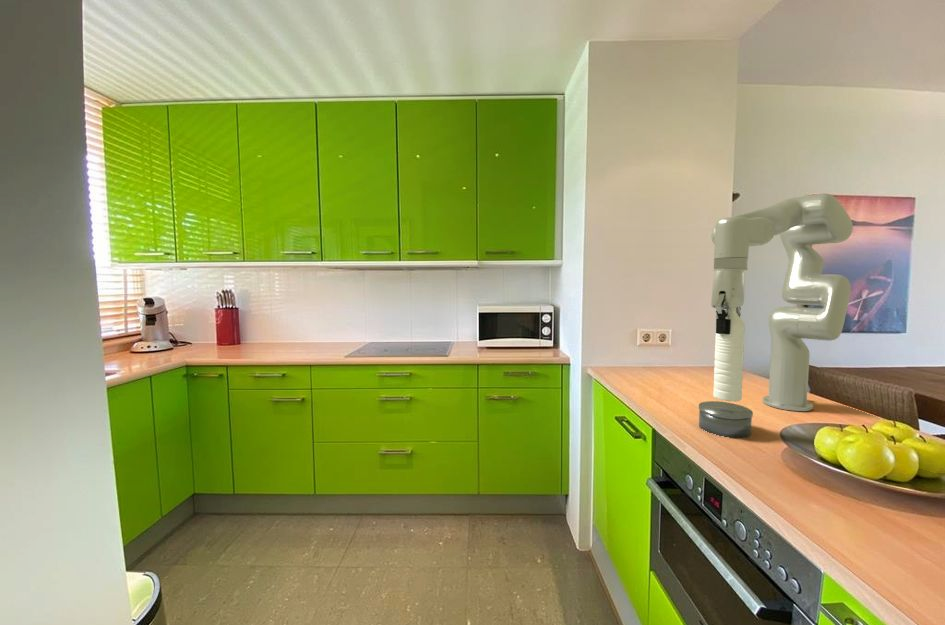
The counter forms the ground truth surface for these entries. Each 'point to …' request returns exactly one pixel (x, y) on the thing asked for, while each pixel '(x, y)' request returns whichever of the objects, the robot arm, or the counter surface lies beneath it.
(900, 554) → the counter surface
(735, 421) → the cake tin
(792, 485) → the counter surface
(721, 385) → the water bottle
